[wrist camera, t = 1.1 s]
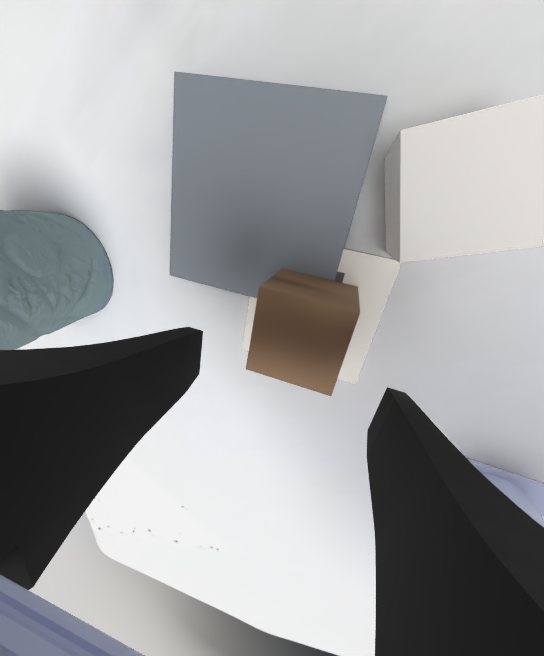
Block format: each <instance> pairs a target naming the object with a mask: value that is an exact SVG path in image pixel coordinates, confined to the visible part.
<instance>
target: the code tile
mask: <svg viewBox="0 0 544 656" xmlns="http://www.w3.org/2000/svg"><path fill="white" fill-rule="evenodd" d="M401 264H402V263H399V262H398V261H397V260H394V259H389V258H385V257H380V256H376V255H371V254H366V253H362V252H357V251H353V250H348V249H344V250H343V253H342V257H341V260H340V264H339V267H338V271H337V274H336V278H335V281H336V282H340V283H345V284H349V285H353V286H357V287H358V293H359V305H360V315H359V318H358V321H357V323H356V326H355V329H354V332H353V335H352V338H351V341H350V343H349V346H348V349H347V352H346V355H345V358H344V361H343V364H342V366H341V369H340V372H339V375H338V378H337V379H339V380H342V381H346V382H349V383H352V384H356V382H357V379H358V376H359V374H360V371H361V369H362V366H363V363H364V361H365V358H366V356H367V353H368V350H369V348H370V345H371V342H372V340H373V337H374V335H375V332H376V329H377V327H378V324H379V321H380V319H381V316H382V314H383V311H384V308H385V306H386V303H387V301H388V298H389V295H390V293H391V290H392V287H393V285H394V282H395V280H396V277H397V274H398V272H399V269H400V267H401ZM256 302H257V298H254V297H250V298H249V304H248V311H247V317H246V324H245V330H244V337H243V343H242V350H244V351H247V352H249V346H250V340H251V334H252V327H253V321H254V315H255V308H256Z"/></svg>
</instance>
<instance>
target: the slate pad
mask: <svg viewBox="0 0 544 656" xmlns="http://www.w3.org/2000/svg"><path fill="white" fill-rule="evenodd" d="M386 99H387V96H384V95H375V94H366V93H358V92H349V91H340V90H331V89H322V88H314V87H305V86H296V85H287V84H279V83H270V82H261V81H252V80H243V79H235V78H226V77H217V76H208V75H200V74H191V73H182V72H174V114H173V157H172V199H171V242H170V275H171V276H175V277H179V278H182V279H186V280H190V281H194V282H197V283H201V284H205V285H209V286H212V287H216V288H220V289H224V290H228V291H231V292H235V293H239V294H243V295H246V296H250V297H254V298H257V296H258V289H259V286H261V285H262V284H263V283H264V282H266V281H267V280H268V279H270V278H271V277H272V276H273V275H275V274H276V273H277V272H279V271H280V270H281V269H287V270H291V271H295V272H299V273H303V274H307V275H311V276H316V277H320V278H324V279H328V280H332V281H335V278H336V274H337V271H338V267H339V264H340V260H341V257H342V253H343V250H344V246H345V243H346V239H347V236H348V232H349V229H350V225H351V222H352V218H353V215H354V211H355V208H356V204H357V201H358V197H359V194H360V190H361V187H362V183H363V180H364V176H365V173H366V169H367V166H368V162H369V159H370V155H371V152H372V148H373V145H374V141H375V138H376V134H377V131H378V127H379V124H380V120H381V117H382V113H383V110H384V106H385V103H386Z"/></svg>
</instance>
